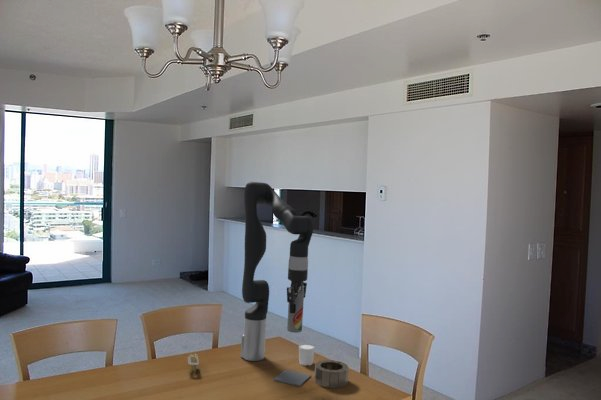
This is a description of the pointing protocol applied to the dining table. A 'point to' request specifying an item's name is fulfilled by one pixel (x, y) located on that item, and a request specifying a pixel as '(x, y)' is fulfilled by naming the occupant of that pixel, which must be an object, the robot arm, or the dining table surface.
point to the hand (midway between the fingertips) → (295, 311)
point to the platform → (193, 362)
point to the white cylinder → (306, 354)
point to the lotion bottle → (296, 313)
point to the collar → (331, 374)
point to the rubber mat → (292, 377)
